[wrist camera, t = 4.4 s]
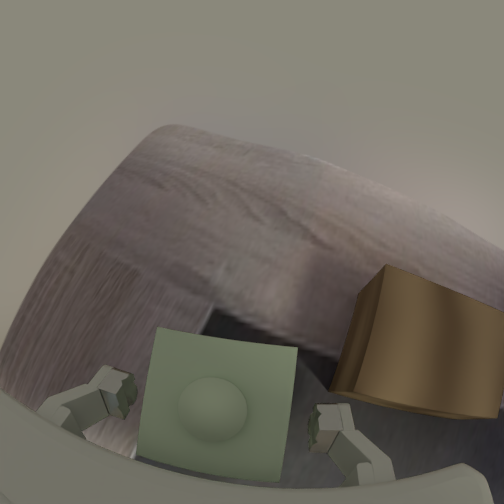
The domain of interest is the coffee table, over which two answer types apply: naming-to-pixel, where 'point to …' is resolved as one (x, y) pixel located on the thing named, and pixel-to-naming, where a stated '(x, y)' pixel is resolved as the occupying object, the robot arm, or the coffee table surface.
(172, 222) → the coffee table surface
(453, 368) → the base brick
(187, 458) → the green brick
